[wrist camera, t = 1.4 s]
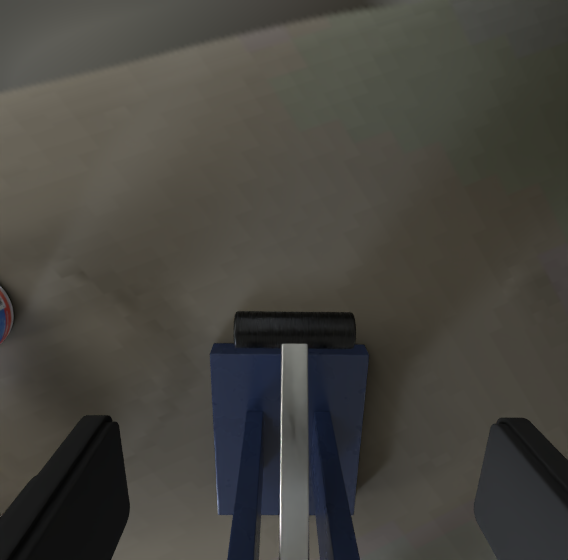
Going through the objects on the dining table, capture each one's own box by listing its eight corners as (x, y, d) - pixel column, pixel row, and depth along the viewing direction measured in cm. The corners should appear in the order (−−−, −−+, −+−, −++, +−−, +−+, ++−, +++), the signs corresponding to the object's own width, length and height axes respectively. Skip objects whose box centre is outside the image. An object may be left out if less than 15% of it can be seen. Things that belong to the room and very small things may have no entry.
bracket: (213, 342, 22) (133, 566, 10) (364, 344, 22) (466, 566, 10) (220, 498, 26) (169, 798, 14) (350, 498, 26) (412, 796, 14)
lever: (238, 314, 17) (232, 307, 15) (346, 315, 17) (357, 308, 15) (227, 652, 15) (218, 709, 12) (356, 652, 15) (371, 708, 12)
